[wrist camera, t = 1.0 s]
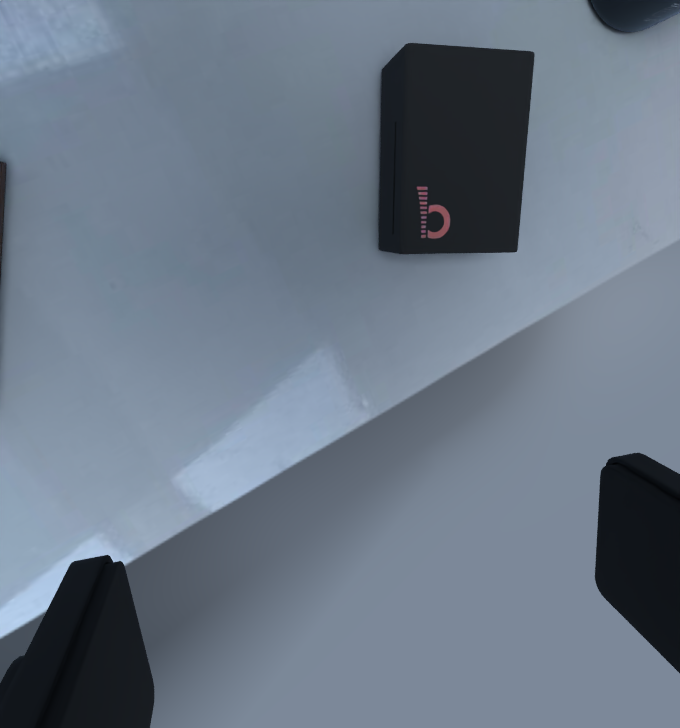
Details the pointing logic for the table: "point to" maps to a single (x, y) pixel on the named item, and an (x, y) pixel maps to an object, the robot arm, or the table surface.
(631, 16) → the supplement bottle
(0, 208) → the docking tray
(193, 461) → the table surface
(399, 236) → the electronic device
